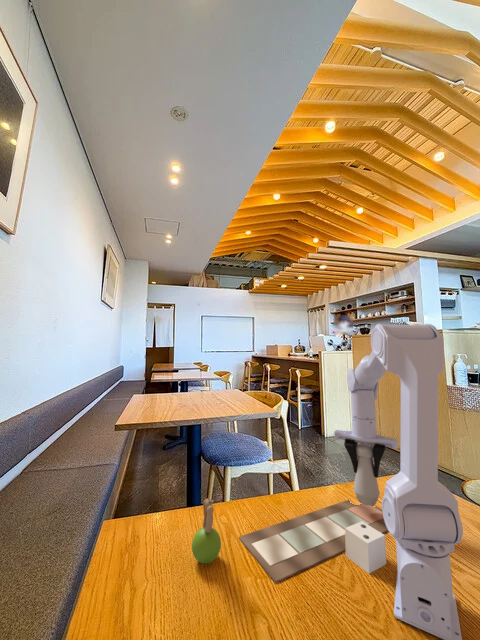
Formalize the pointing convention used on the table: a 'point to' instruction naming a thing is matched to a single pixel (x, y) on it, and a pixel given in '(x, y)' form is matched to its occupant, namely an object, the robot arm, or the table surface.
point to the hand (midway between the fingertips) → (366, 473)
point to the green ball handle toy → (206, 537)
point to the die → (365, 546)
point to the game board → (308, 538)
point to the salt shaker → (366, 476)
